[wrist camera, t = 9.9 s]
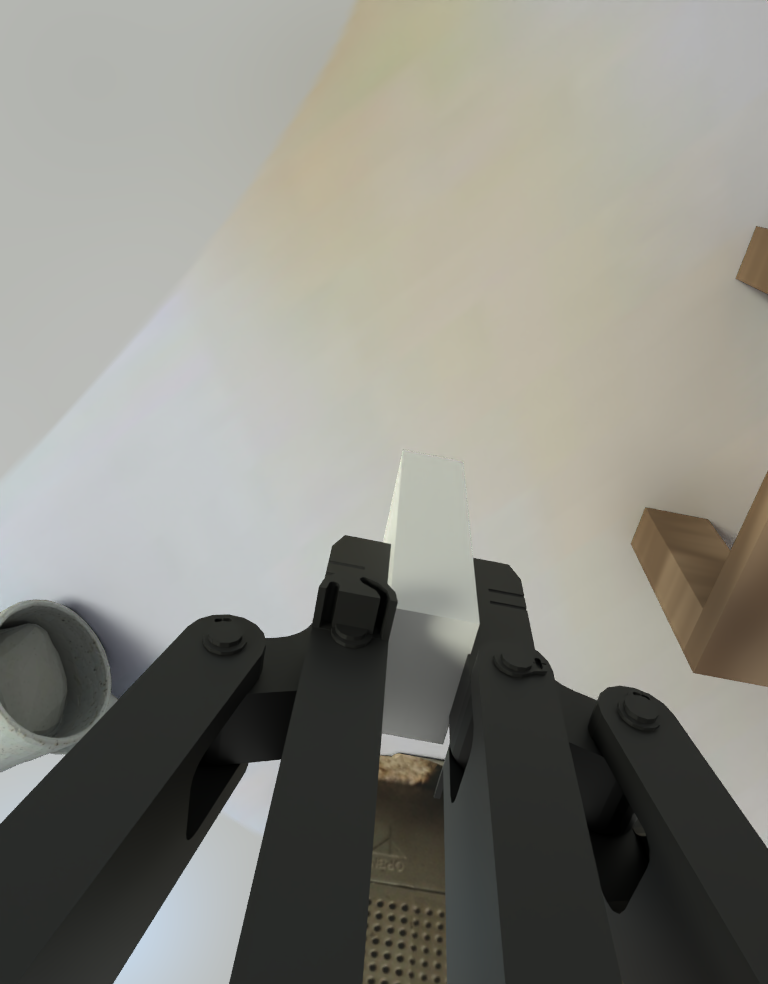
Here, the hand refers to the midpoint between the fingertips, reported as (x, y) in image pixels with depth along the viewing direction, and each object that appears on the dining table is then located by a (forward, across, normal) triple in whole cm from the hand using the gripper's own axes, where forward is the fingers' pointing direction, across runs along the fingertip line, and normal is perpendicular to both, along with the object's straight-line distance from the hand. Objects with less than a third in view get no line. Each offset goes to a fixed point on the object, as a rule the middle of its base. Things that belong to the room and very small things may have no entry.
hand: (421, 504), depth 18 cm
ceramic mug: (+15, -16, -21) cm, 30 cm away
